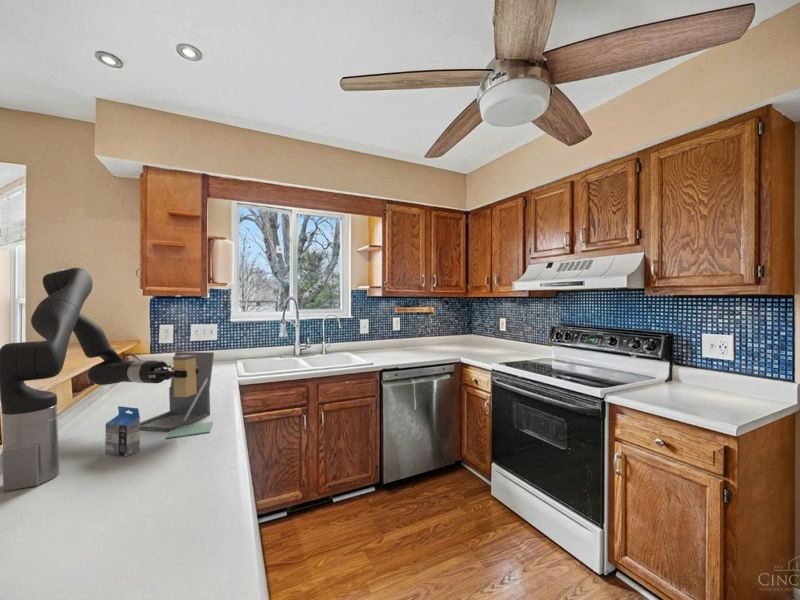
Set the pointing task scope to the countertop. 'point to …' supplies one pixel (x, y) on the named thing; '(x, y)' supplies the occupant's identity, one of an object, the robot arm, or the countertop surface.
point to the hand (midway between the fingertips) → (192, 372)
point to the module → (188, 384)
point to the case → (193, 403)
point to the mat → (191, 430)
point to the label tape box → (123, 432)
